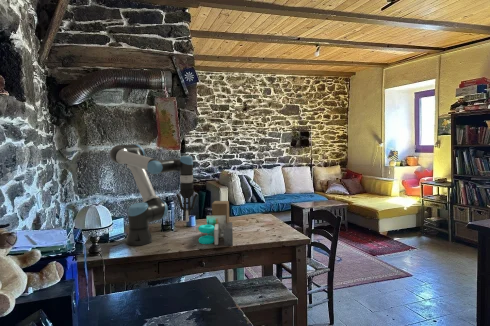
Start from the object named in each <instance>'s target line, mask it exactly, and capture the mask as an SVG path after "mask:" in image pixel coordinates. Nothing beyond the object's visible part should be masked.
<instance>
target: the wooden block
mask: <svg viewBox="0 0 490 326" xmlns="http://www.w3.org/2000/svg"><path fill="white" fill-rule="evenodd" d="M214 215H226V222H230V201H229V200H214V201H213V202H212V203H211V216H214Z"/></svg>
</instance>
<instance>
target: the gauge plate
mask: <svg viewBox="0 0 490 326" xmlns="http://www.w3.org/2000/svg"><path fill="white" fill-rule="evenodd" d="M214 237H215V242H214V246H218V245H219V239H220V238H219V224H217V219H216V224H215V229H214Z"/></svg>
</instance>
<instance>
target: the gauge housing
mask: <svg viewBox="0 0 490 326" xmlns="http://www.w3.org/2000/svg"><path fill="white" fill-rule="evenodd" d="M216 219H217V224H219V239H220V238H223V246H226V247H227V246H228V247H229V246H234V243H233V239H234V238H233V237H234V236H233V222H232V221H231V222H230V221H229V222H226V215H214V216H212V215H206V225H213V226H214V227H215V224H216ZM206 235H210V236H213V237H214V231H213V232H211V233H206ZM214 238H215V237H214Z"/></svg>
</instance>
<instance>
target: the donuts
mask: <svg viewBox="0 0 490 326" xmlns="http://www.w3.org/2000/svg"><path fill="white" fill-rule="evenodd" d="M214 229H215V227H214V226H213V225H207V224H201V225H199V226H198V228H197V230H198V231H199V232H200V233H201V234H205V235H201V236H200V237H199V238H198V242H199V244H201V245H211V244H213V243H214V244H215V238H214V237H213V236H210V235H207V233H211V232H213V231H214Z"/></svg>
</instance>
